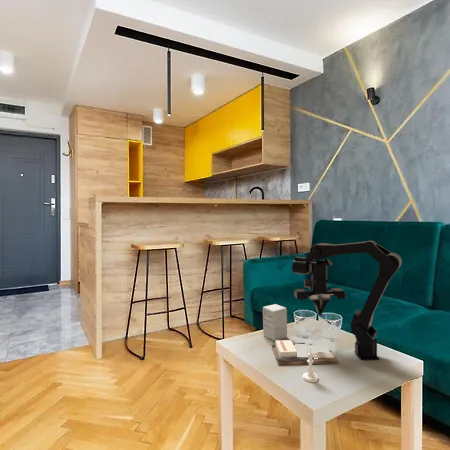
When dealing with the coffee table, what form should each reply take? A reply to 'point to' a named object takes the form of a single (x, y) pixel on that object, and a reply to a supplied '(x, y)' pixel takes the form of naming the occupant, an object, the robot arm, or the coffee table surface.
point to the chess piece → (310, 370)
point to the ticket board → (305, 358)
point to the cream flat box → (286, 348)
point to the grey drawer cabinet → (275, 322)
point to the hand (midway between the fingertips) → (319, 315)
